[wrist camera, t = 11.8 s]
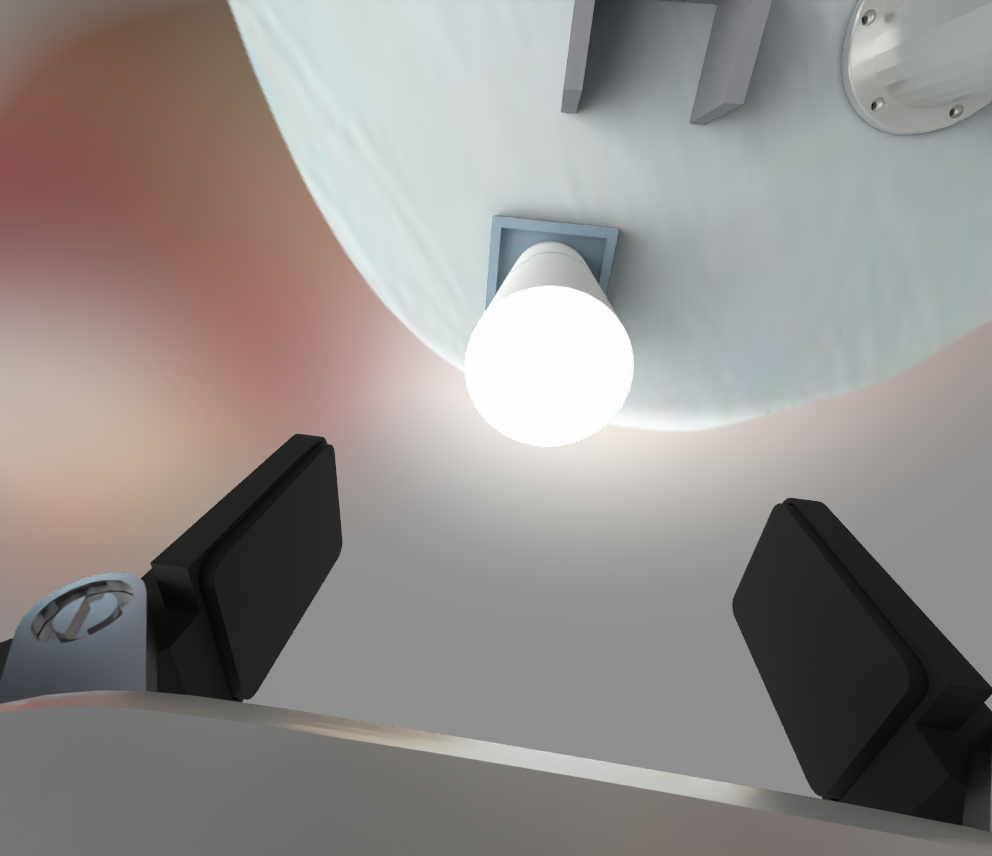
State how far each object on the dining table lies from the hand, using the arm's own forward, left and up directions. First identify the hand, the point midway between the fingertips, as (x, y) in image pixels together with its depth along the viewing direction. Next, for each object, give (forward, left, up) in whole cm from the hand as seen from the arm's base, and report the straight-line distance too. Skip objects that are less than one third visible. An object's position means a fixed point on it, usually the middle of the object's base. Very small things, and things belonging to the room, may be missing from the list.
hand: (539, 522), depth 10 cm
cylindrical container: (0, 0, -36) cm, 36 cm away
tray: (0, 0, -36) cm, 36 cm away
